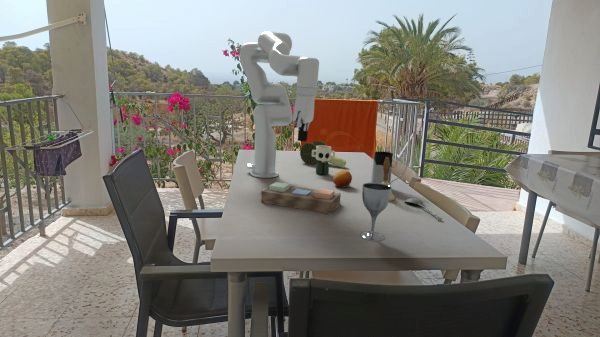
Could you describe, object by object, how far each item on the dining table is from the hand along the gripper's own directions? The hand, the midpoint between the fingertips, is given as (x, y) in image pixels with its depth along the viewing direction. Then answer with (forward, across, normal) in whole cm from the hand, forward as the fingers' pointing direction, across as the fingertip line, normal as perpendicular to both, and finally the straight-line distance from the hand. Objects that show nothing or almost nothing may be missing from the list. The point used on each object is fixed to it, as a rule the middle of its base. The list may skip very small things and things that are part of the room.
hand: (302, 140), depth 152 cm
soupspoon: (+19, -2, +48) cm, 51 cm away
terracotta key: (+17, +13, +15) cm, 26 cm away
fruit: (+20, -18, +13) cm, 30 cm away
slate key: (+18, +14, +7) cm, 24 cm away
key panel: (+20, +14, +7) cm, 25 cm away
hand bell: (+20, -10, +32) cm, 39 cm away
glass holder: (+20, -24, +31) cm, 44 cm away
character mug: (+22, -34, -2) cm, 40 cm away
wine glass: (+18, +32, +36) cm, 51 cm away
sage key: (+17, +14, -2) cm, 22 cm away
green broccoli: (+23, -55, -8) cm, 60 cm away
